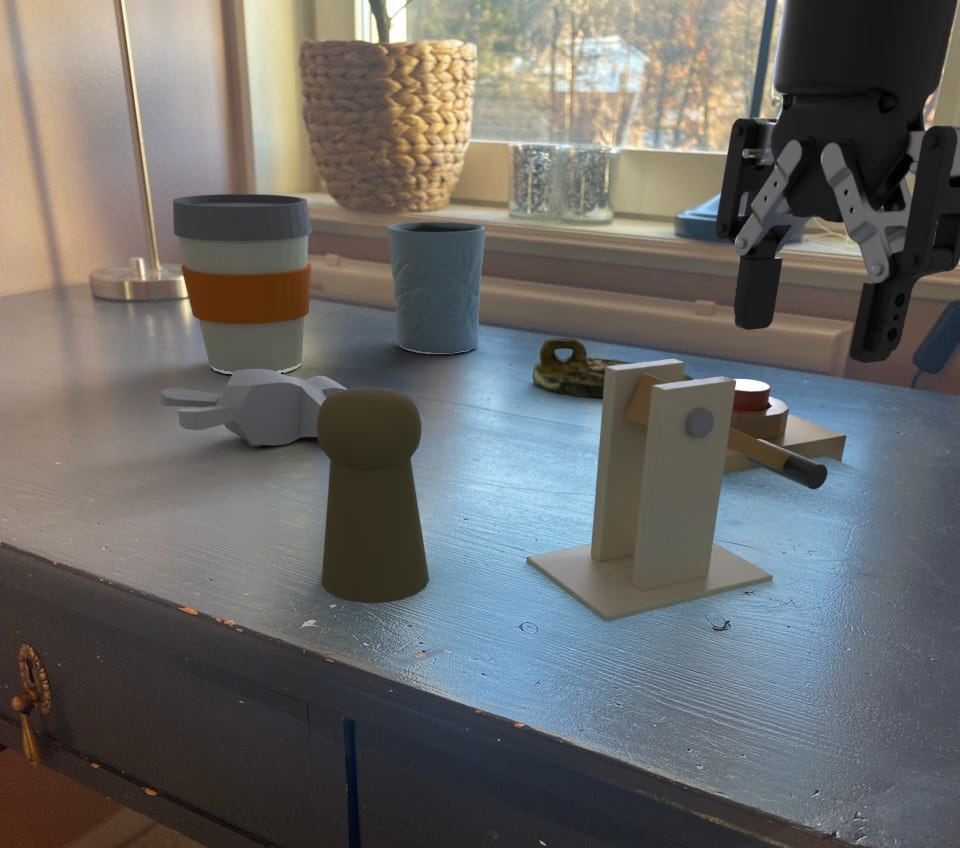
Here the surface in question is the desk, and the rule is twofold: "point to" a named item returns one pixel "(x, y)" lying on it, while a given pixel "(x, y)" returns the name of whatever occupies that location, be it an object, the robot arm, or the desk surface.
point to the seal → (572, 369)
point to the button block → (782, 435)
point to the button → (751, 395)
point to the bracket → (655, 500)
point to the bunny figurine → (257, 406)
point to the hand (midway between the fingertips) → (806, 343)
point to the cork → (371, 496)
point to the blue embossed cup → (437, 284)
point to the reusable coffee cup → (247, 276)
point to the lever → (741, 443)
